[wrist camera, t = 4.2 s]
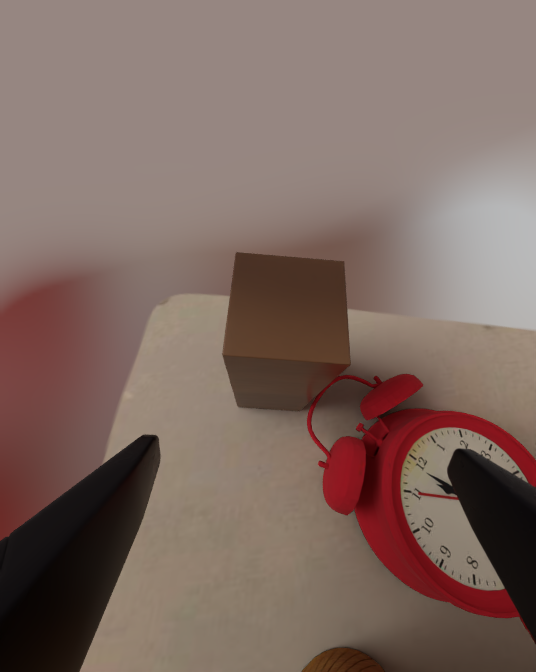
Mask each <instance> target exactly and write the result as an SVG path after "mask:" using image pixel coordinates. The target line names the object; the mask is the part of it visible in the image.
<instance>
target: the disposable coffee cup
mask: <svg viewBox="0 0 536 672" xmlns="http://www.w3.org/2000/svg"><path fill="white" fill-rule="evenodd" d="M302 672H385V671H384V669H383V668H382V667H381V666H380V665H379V664H378V663H377V662H375V661H374V660H373V659H372V658H370V657H369V656H368V655H366V654H364V653H362V652H360V651H358V650H354V649H349V648H335V649H331V650H328V651H325V652H323V653H321V654H320V655H318V656H317V657H315V658H314V659H313V660H312V661H311V662H310V663H309V664H308V665H307V666H306V667H305V668H304V669H303V671H302Z"/></svg>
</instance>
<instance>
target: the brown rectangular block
mask: <svg viewBox="0 0 536 672" xmlns="http://www.w3.org/2000/svg"><path fill="white" fill-rule="evenodd" d="M345 284H346V283H345V268H344V261H334V260H322V259H310V258H298V257H286V256H273V255H262V254H251V253H238V252H237V253H236V256H235V263H234V270H233V278H232V285H231V293H230V300H229V308H228V315H227V323H226V330H225V338H224V345H223V353H222V355H223V359H224V362H225V365H226V369H227V372H228V376H229V379H230V382H231V386H232V389H233V392H234V396H235V399H236V403H237V406H238V407H246V408H260V409H275V410H289V411H300V410H301V409H302V408H303V407H304V406H306V405H307V404H308V403H309V402H310V401H311V400H312V399H313V398H314V397H315V396H317V395H318V394H319V393H320V392H321V391H322V390H323V389H324V388H325V387H326V386H328V385H329V384H330V383H331V382H332V381H333V380H334V379H335V378H336V377H338V376H339V375H340V374H341V373H342V372H343V371H344V370H345V369H346V368H347V367H349V366H350V364H351V362H350V346H349V330H348V315H347V301H346V300H347V299H346V285H345Z"/></svg>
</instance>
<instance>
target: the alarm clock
mask: <svg viewBox="0 0 536 672" xmlns="http://www.w3.org/2000/svg"><path fill="white" fill-rule="evenodd" d="M342 379H353V380H356V381H359V382H361V383H363V384H366V385H368V386H370V387H372V388H374V389H372V390H371V391H370V392H369V393H368V394H367V395H366V396H365V397H364V398H363V400H362V402H361V405H360V410H361V413H362V415H363V416H364V418H365V419H366V420H370V419H373V418H375V417H377V418H378V420H379V421H377V422H376V423H375V424H374V425H372V426H371V427H370V428H369V430H368V431H367V430H365V429H364V428H363V426H364V425H363V424H362V423H359V424H358V426H357V428H356V430H357V431H359V432H360V431H363V432H364V433H365V435H364V436H363V438H362V440H360V439H359V438H355V437H350V436H346V437H341V438H340V439H338V440H337V441H336V442H335V444H334V445H333V446H332V448H331V450H330V452H329V451H328V450H327V449H326V448H325V447H324V446H323V445H322V444H321V443H320V441H319V440H318V439H317V438H316V436H315V434H314V432H313V430H312V425H311V418H312V414H313V411H314V408H315V406H316V404H317V402H318V401H319V399H320V397H321V396H322V395H323V393H324V392H325V391H326V390H327V389H328V388H329V387H330V386H331V385H332V384H334V383H335V382H337V381H339V380H342ZM373 379H374V380H375V381H376V383H377V384H371V383H369V382H368V381H366V380H364V379H361V378H358V377H355V376H351V375H343V376H338V377H336V378H335V379H334V380H333V381H332V382H331V383H330V384H329V385H328V386H326V387H325V388H324V389H323V390H322V391H321V392H320V393H319V394H318V395H317V396H316V398H315V400H314V401H313V403H312V405H311V407H310V410H309V413H308V418H307V426H308V431H309V433H310V435H311V437H312V439H313V441H314V442H315V443H316V444H317V445H318V447H319V448H320V449H321V450H322V451H323V452H324V453H325V454H326V455H327V457H328V458H327V461H326V463H324V462H322V461H319V463H318V465H319V466H320V467H323V468H325V470H324V475H323V492H324V497H325V500H326V502H327V504H328V505H329V506H330V507H331V508H332V509H333V510H335V511H336V512H338V513H341V514H344V515H348V514H350V513H351V512H352V511H353V510H354V509H355V513H356V516H357V519H358V522H359V525H360V527H361V530H362V532H363V534H364V536H365V538H366V540H367V542H368V544H369V545H370V547H371V548H372V550H373V551H374V553H375V554H376V556H377V557H378V558H379V559H380V561H381V562H382V563H383V564H384V565H385V566H386V567H387V568H388V569H389V570H390V571H391V572H392V573H393V574H394V575H395V576H396V577H397V578H399V579H400V580H401V581H402V582H403V583H405V584H406V585H408V586H409V587H410V588H412V589H414V590H415V591H417V592H419V593H421V594H423V595H425V596H427V597H430V598H433V599H436V600H440V601H445V602H450V603H451V604H453V605H455V606H456V607H459V608H461V609H463V610H465V611H468V612H471V613H474V614H477V615H482V616H488V617H494V618H512V617H518V616H519V617H520V619H521V621H522V623H523V624H524V626H525V628H526V629H527V627H526V625H525V623H524V622H523V620H522V618H521V616H520V615H519V613H518V611H517V609H516V607H515V606H514V604H513V602H512V600H511V598H510V597H509V595H508V593H507V591H506V589H505V588H504V586H503V584H502V582H501V580H500V579H499V577H498V575H497V573H496V571H495V570H494V568H493V566H492V564H491V563H490V561H489V559H488V557H487V555H486V554H485V552H484V550H483V548H482V546H481V545H480V543H479V541H478V539H477V537H476V535H475V534H474V532H473V530H472V528H471V526H470V524H469V521H468V519H467V517H466V515H465V513H464V511H463V508H462V506H461V504H460V502H459V500H458V497H457V495H456V493H455V491H454V489H453V486H452V484H451V482H450V480H449V478H448V474H447V467H448V464H449V462H450V460H451V457H452V455H453V452H454V451H455V450H456V449H458V448H462V449H471V450H474V451H475V452H477V453H479V454H480V455H482V456H484V457H485V458H487V459H489V460H491V461H492V462H494V463H496V464H497V465H499V466H501V467H502V468H504V469H506V470H507V471H509V472H511V473H512V474H514V475H516V476H517V477H519V478H521V479H522V480H524V481H526V482H527V483H529V484H531V485H533V486H534V487H536V460H535V459H534V457H533V456H532V455H531V454H530V453H529V452H528V451H527V449H526V448H525V447H524V446H523V445H522V444H521V443H520V442H518V441H517V440H516V439H515V438H514V437H513V436H512V435H510V434H509V433H507V432H506V431H505V430H503V429H502V428H500V427H499V426H497V425H495V424H493V423H491V422H489V421H487V420H485V419H483V418H480V417H477V416H474V415H470V414H466V413H462V412H456V411H434V410H429V409H418V408H415V409H406V410H401V411H397V412H394V413H392V414H389V415H387V416H385V417H384V418H382V419H381V418H380V417H379V415H381V414H383V413H385V412H386V411H388V410H390V409H392V408H393V407H395V406H396V405H398V404H400V403H401V402H403V401H404V400H406V399H407V398H409V397H410V396H411V395H413V394H414V393H415V392H417V391H418V390H419V389H420V388H421V387H422V386H423V384H422V382H421V381H420V380H419V379H418V378H416V377H415V376H414V375H410V374H401V375H397V376H395V377H392V378H390V379H388V380H386V381H384V382H383V383H382V381H381V380H380V379H379V378H378V377H377V376H375V377H374V378H373ZM527 630H528V629H527ZM528 632H529V631H528ZM529 634H530V632H529ZM530 635H531V634H530ZM531 637H532V636H531ZM532 639H533V638H532ZM534 642H535V641H534ZM535 644H536V643H535Z"/></svg>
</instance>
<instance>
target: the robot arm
mask: <svg viewBox="0 0 536 672" xmlns="http://www.w3.org/2000/svg"><path fill="white" fill-rule="evenodd" d="M159 464H160V447H159V438H158V436H157V435H142V436H140V437H139V438H138V439H136V440H135V441H134V442H132V443H131V444H130V445H128V446H127V447H126V448H124V449H123V450H122V451H120V452H119V453H118V454H116V455H115V456H114V457H112V458H111V459H110V460H108V461H107V462H106V463H104V464H103V465H102V466H100V467H99V468H98V469H96V470H95V471H94V472H92V473H91V474H90V475H88V476H87V477H85V478H84V479H83V480H81V481H80V482H79V483H77V484H76V485H75V486H74V487H72V488H71V489H69V490H68V491H67V492H65V493H64V494H63V495H62V496H60V497H59V498H57V499H56V500H55V501H53V502H52V503H51V504H49V505H48V506H47V507H45V508H44V509H43V510H41V511H40V512H39V513H37V514H36V515H35V516H34V517H32V518H31V519H29V520H28V521H27V522H25V523H24V524H23V525H21V526H20V527H19V528H17V529H16V530H14V531H13V532H12V533H11V534H10V536H9V537H5V538H4V539H2V540H1V541H0V672H79V671H80V669H81V667H82V664H83V662H84V659H85V657H86V655H87V652H88V650H89V647H90V645H91V643H92V640H93V638H94V635H95V633H96V631H97V628H98V626H99V623H100V621H101V619H102V616H103V614H104V611H105V609H106V607H107V604H108V602H109V599H110V597H111V595H112V592H113V590H114V587H115V585H116V583H117V580H118V578H119V575H120V573H121V571H122V568H123V566H124V563H125V561H126V559H127V556H128V554H129V551H130V549H131V546H132V544H133V542H134V539H135V537H136V534H137V532H138V530H139V527H140V525H141V522H142V519H143V516H144V513H145V510H146V507H147V504H148V501H149V497H150V494H151V491H152V487H153V484H154V481H155V478H156V474H157V471H158V468H159ZM447 474H448V478H449V480H450V482H451V484H452V486H453V489H454V491H455V493H456V495H457V497H458V500H459V502H460V504H461V506H462V508H463V511H464V513H465V515H466V517H467V519H468V521H469V524H470V526H471V528H472V530H473V532H474V534H475V535H476V537H477V539H478V541H479V543H480V545H481V546H482V548H483V550H484V552H485V554H486V555H487V557H488V559H489V561H490V563H491V564H492V566H493V568H494V570H495V571H496V573H497V575H498V577H499V579H500V580H501V582H502V584H503V586H504V588H505V589H506V591H507V593H508V595H509V597H510V598H511V600H512V602H513V604H514V606H515V607H516V609H517V611H518V613H519V615H520V616H521V618H522V620H523V622H524V623H525V625H526V627H527V629H528V631H529V632H530V634H531V636H532V638H533V640H534V641H535V643H536V487H534V486H533V485H531V484H529V483H527V482H526V481H524V480H522V479H521V478H519V477H517V476H516V475H514V474H512V473H511V472H509V471H507V470H506V469H504V468H502V467H501V466H499V465H497V464H496V463H494V462H492V461H491V460H489V459H487V458H485V457H484V456H482V455H480V454H479V453H477V452H475V451H474V450H471V449H462V448H458V449H456V450H455V451H454V452H453V455H452V457H451V460H450V462H449V464H448V467H447Z"/></svg>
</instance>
